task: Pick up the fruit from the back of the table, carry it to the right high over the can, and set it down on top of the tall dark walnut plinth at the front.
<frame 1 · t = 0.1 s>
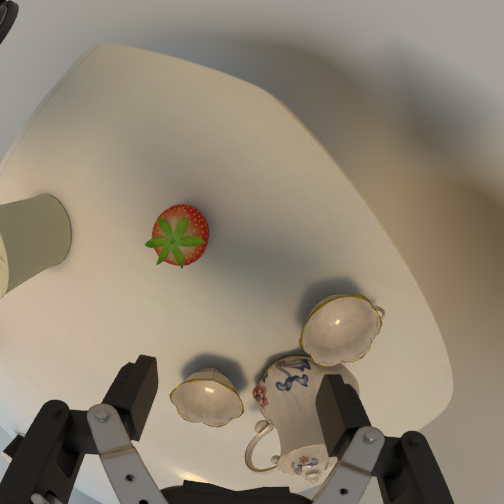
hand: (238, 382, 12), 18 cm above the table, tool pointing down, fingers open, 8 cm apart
dixie cup: (26, 438, 44), on the table
chinaware: (282, 364, 33), on the table
fruit: (190, 225, 28), on the table
can: (46, 230, 28), on the table
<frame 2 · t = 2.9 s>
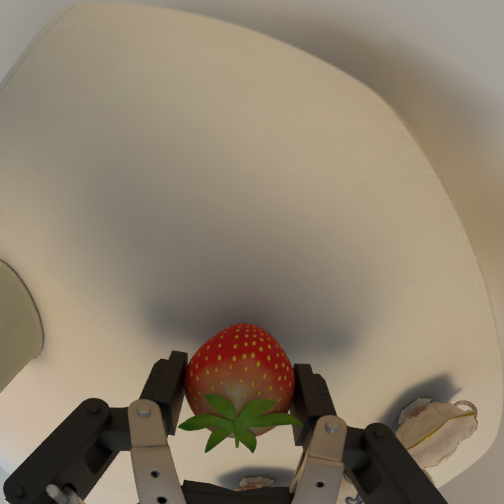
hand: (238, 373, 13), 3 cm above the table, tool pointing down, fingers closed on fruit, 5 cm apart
chinaware: (344, 464, 21), on the table
fruit: (241, 334, 16), on the table, touching gripper
can: (8, 309, 16), on the table
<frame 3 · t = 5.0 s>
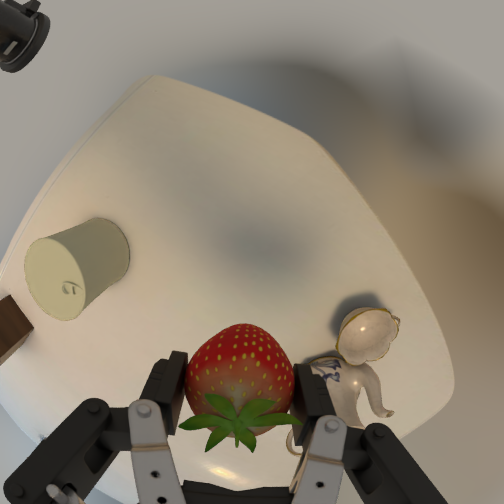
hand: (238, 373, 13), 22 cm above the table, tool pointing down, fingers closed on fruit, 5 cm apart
chinaware: (314, 365, 39), on the table
fruit: (241, 334, 16), point 19 cm above the table, touching gripper
can: (101, 251, 34), on the table
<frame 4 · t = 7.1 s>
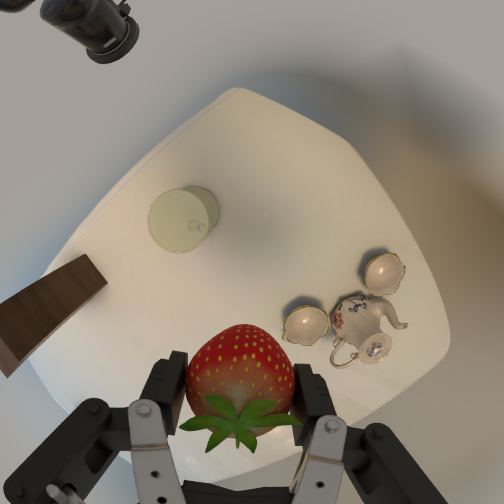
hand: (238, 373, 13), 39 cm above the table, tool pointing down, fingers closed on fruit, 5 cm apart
chinaware: (345, 303, 54), on the table
fruit: (241, 335, 16), point 35 cm above the table, touching gripper
can: (193, 211, 49), on the table
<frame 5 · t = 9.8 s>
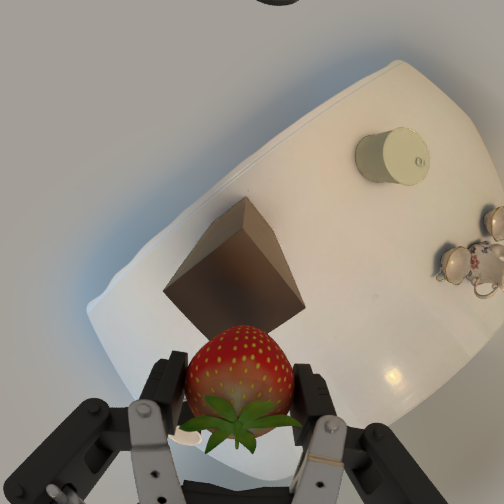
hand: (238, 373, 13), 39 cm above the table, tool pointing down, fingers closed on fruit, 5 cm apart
dixie cup: (191, 404, 62), on the table
chinaware: (471, 250, 52), on the table
fruit: (241, 335, 16), point 35 cm above the table, touching gripper
plinth: (234, 300, 21), on the table
can: (376, 158, 47), on the table
when the fingers open (33 cm above the table, at t = 11.8 s): fruit stays where it is, resting on plinth.
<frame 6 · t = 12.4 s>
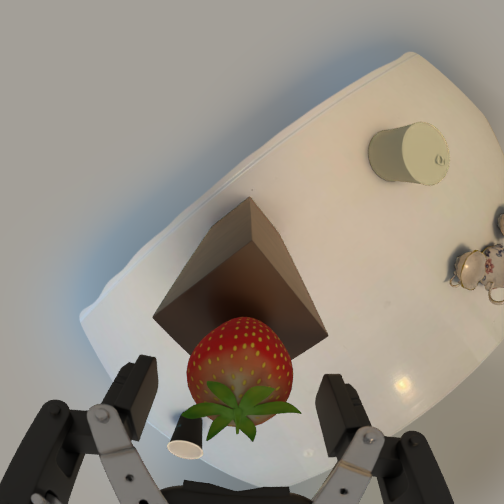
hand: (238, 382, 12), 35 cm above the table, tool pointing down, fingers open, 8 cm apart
dixie cup: (191, 415, 58), on the table
chinaware: (484, 253, 47), on the table
fruit: (241, 328, 17), point 30 cm above the table, touching plinth
plinth: (240, 329, 17), on the table
can: (390, 155, 42), on the table
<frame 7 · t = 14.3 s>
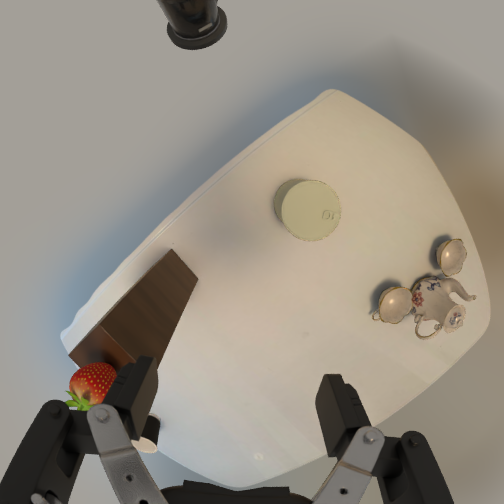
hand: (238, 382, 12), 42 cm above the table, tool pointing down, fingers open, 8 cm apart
dixie cup: (152, 417, 67), on the table
chinaware: (419, 284, 56), on the table
fruit: (108, 366, 26), point 30 cm above the table, touching plinth
plinth: (107, 367, 26), on the table
can: (298, 203, 51), on the table
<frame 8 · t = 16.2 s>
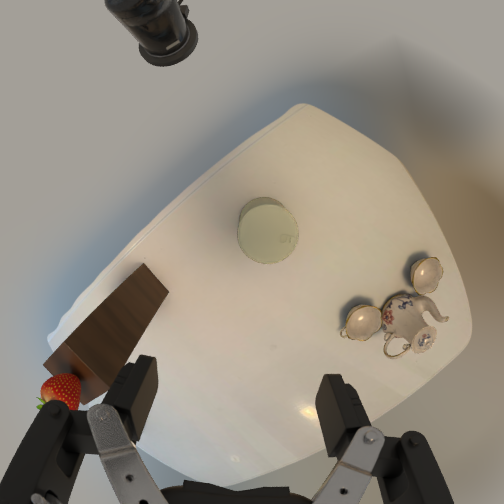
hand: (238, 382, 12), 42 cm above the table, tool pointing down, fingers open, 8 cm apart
chinaware: (392, 301, 58), on the table
fruit: (74, 376, 27), point 30 cm above the table, touching plinth
plinth: (73, 376, 27), on the table
can: (264, 221, 53), on the table
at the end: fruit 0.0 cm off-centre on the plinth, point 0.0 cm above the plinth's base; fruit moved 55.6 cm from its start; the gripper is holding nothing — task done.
